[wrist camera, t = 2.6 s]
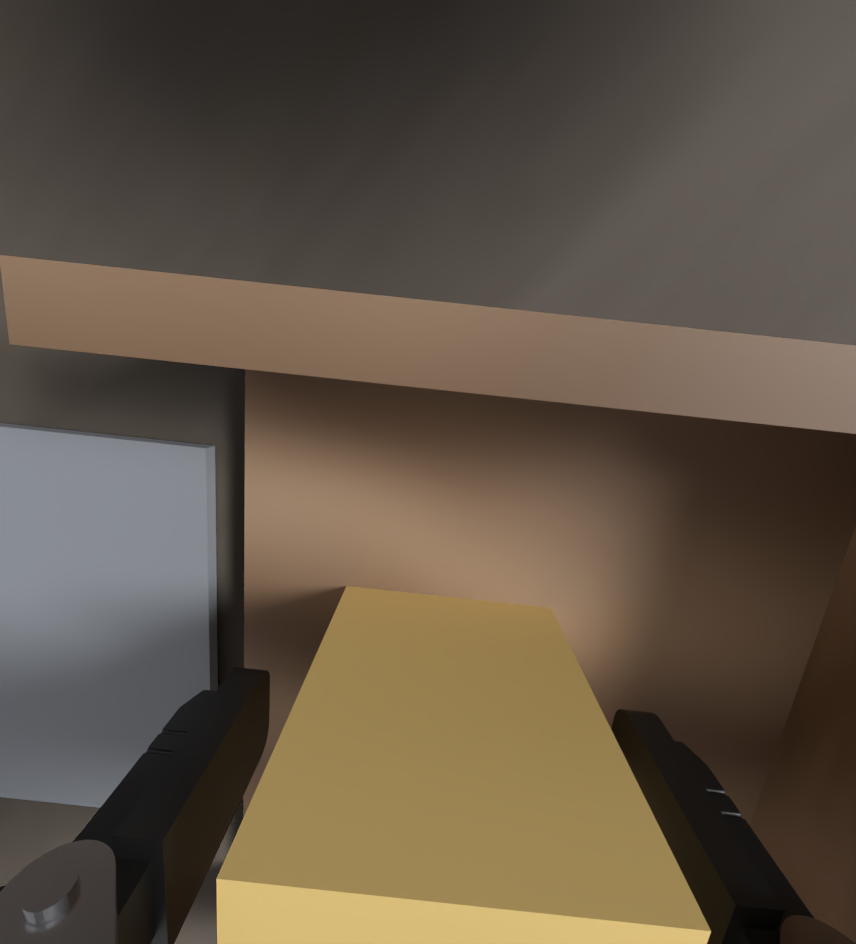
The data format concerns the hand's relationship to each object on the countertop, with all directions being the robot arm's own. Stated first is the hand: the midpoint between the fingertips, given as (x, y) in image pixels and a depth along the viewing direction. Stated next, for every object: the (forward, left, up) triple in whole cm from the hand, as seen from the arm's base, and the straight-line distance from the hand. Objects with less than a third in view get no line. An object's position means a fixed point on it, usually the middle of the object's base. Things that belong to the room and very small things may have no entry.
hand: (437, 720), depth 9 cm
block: (0, 0, -1) cm, 1 cm away
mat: (0, -11, -2) cm, 11 cm away
